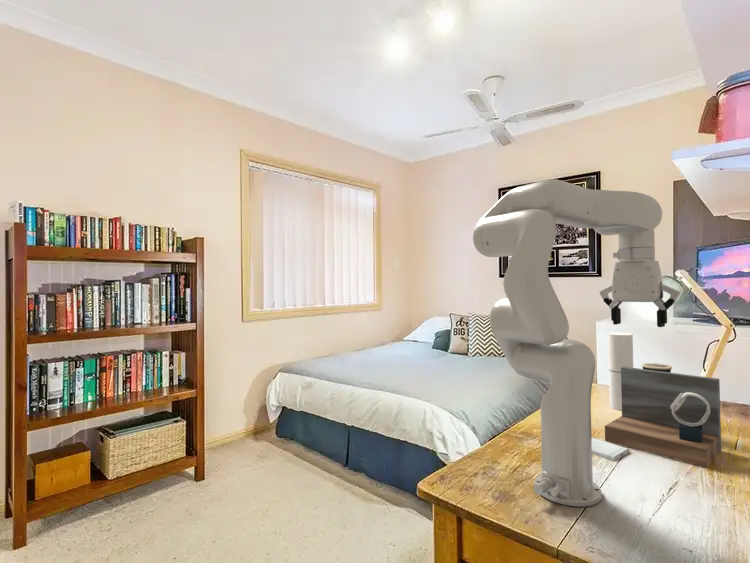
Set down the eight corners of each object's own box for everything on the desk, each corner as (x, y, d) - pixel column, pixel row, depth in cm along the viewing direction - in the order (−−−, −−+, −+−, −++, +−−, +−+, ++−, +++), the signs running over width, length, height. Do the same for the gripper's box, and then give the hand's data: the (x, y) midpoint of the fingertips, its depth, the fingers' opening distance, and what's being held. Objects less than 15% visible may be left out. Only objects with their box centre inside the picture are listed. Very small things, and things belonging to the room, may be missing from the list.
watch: (671, 430, 108) (670, 388, 108) (711, 437, 103) (710, 393, 103) (669, 437, 104) (668, 393, 104) (711, 444, 99) (710, 398, 99)
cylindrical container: (605, 405, 144) (603, 332, 144) (624, 404, 145) (622, 332, 145) (619, 411, 137) (617, 335, 137) (639, 410, 138) (637, 334, 138)
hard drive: (564, 441, 110) (614, 456, 100) (580, 433, 115) (629, 447, 105) (564, 447, 110) (614, 463, 100) (580, 439, 115) (629, 454, 105)
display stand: (706, 467, 96) (704, 388, 96) (605, 440, 113) (603, 374, 113) (721, 450, 105) (719, 378, 105) (625, 428, 122) (623, 366, 122)
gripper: (593, 257, 107) (595, 324, 107) (673, 253, 94) (675, 329, 94) (605, 258, 112) (607, 322, 112) (683, 253, 98) (685, 326, 98)
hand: (638, 325), depth 103 cm, fingers open, 9 cm apart
